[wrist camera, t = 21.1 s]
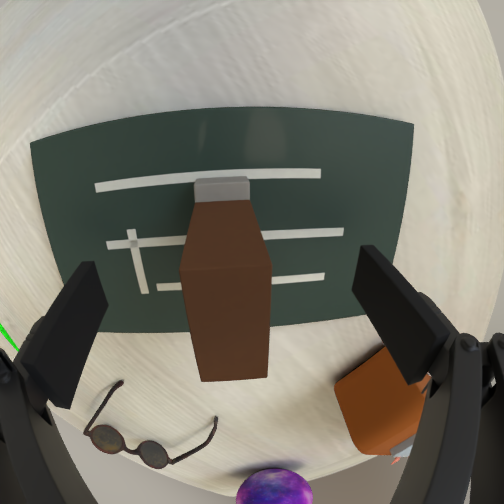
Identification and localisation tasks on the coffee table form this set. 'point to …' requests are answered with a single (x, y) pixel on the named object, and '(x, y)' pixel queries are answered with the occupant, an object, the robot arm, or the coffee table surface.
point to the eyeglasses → (147, 450)
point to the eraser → (226, 282)
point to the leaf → (8, 337)
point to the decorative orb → (274, 488)
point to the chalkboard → (261, 197)
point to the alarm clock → (381, 406)
